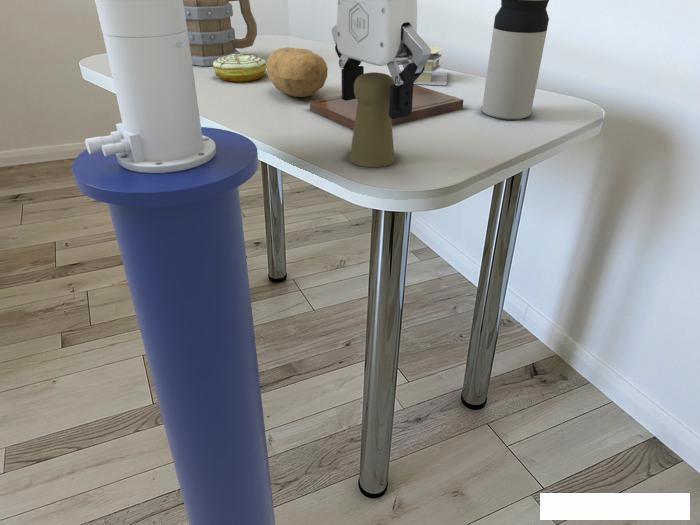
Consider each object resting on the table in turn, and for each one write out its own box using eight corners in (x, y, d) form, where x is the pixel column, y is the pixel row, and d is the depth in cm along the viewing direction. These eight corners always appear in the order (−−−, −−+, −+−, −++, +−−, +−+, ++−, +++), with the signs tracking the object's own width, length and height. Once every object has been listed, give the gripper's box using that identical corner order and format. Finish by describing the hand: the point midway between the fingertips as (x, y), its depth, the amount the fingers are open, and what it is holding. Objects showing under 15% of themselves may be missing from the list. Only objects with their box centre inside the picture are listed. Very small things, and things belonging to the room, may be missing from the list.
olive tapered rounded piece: (403, 162, 72) (409, 76, 66) (364, 170, 69) (366, 82, 63) (379, 147, 76) (382, 66, 70) (341, 155, 74) (341, 71, 68)
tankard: (186, 68, 115) (174, -11, 107) (177, 56, 125) (166, -17, 117) (276, 60, 122) (272, -14, 114) (261, 50, 132) (256, -20, 124)
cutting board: (360, 133, 81) (360, 123, 80) (309, 110, 91) (309, 101, 90) (462, 108, 92) (463, 99, 92) (407, 90, 102) (408, 82, 101)
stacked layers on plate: (446, 85, 105) (449, 56, 102) (400, 83, 106) (402, 53, 103) (447, 73, 113) (450, 45, 110) (404, 71, 115) (406, 43, 112)
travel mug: (520, 123, 86) (543, -2, 76) (473, 114, 90) (490, -7, 80) (537, 111, 91) (560, -7, 82) (492, 103, 95) (510, -11, 85)
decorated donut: (265, 69, 115) (263, 50, 113) (269, 82, 106) (267, 62, 104) (214, 71, 113) (212, 52, 111) (214, 84, 104) (212, 63, 102)
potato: (299, 83, 105) (297, 39, 101) (340, 100, 96) (340, 52, 92) (254, 90, 101) (250, 45, 96) (293, 109, 91) (291, 59, 87)
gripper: (308, -50, 64) (313, 97, 73) (406, -43, 52) (397, 131, 61) (358, -52, 67) (357, 88, 77) (460, -46, 56) (444, 119, 65)
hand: (375, 107), depth 69 cm, fingers open, 9 cm apart
